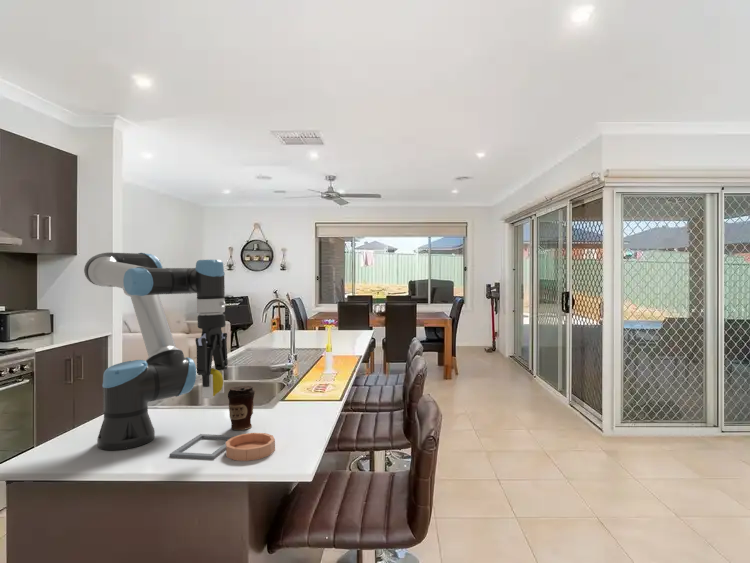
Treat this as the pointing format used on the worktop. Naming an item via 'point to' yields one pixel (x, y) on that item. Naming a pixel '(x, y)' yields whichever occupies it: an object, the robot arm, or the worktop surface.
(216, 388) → the lemon
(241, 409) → the coffee cup
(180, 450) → the gray rectangular frame
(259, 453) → the bowl
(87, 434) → the worktop surface
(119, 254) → the robot arm
